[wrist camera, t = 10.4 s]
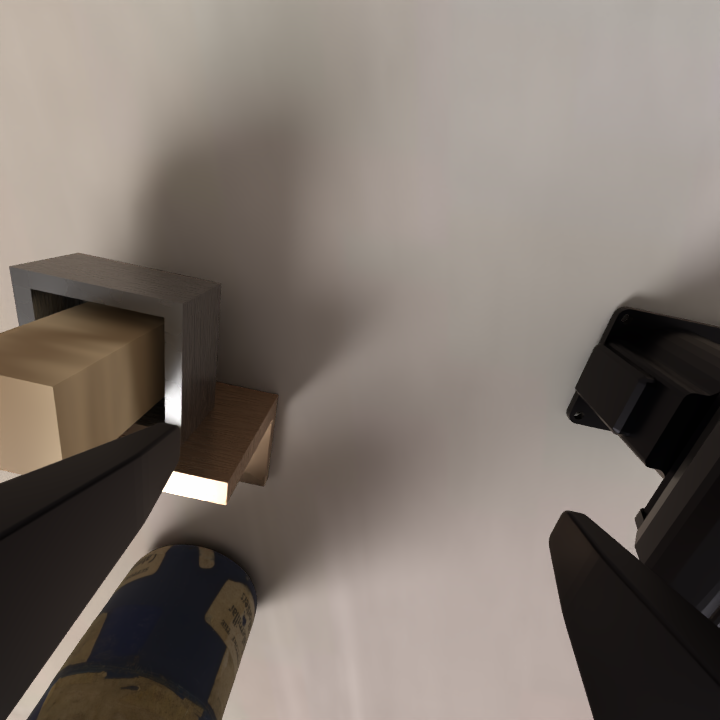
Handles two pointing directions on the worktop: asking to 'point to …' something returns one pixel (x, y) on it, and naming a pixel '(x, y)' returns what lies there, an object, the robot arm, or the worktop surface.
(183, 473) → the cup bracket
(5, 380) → the rail end
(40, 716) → the canister
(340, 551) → the worktop surface
